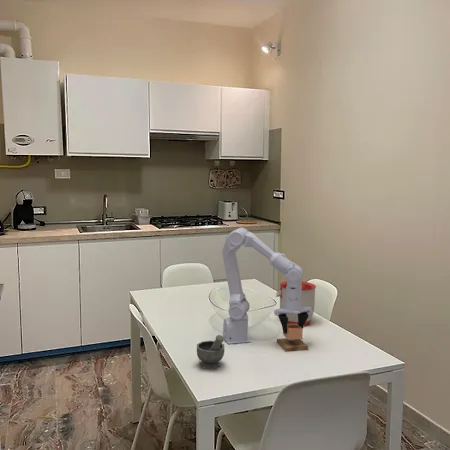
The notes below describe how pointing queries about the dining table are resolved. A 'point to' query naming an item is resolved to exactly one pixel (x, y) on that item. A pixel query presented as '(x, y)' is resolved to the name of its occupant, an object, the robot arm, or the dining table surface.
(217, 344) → the mortar and pestle
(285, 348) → the post stand
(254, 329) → the dining table surface
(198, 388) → the dining table surface
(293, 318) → the citrus juicer
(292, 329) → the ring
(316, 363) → the dining table surface
